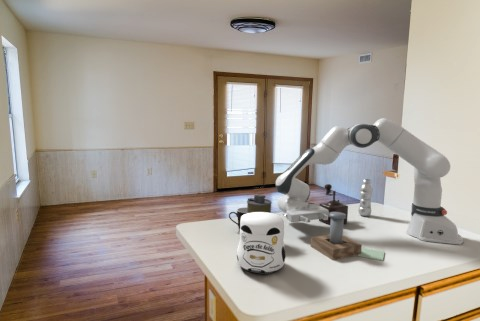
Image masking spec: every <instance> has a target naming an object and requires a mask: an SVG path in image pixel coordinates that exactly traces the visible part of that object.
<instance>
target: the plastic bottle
mask: <svg viewBox="0 0 480 321" xmlns="http://www.w3.org/2000/svg"><path fill="white" fill-rule="evenodd" d="M362 180H363V181H362V185H361V186H360V188H359V196H360V197H359V199H360V201H359V206H358V215H360V216H363V217H369V216H371V215H372V202H371V201H372V196H373V190H374V189H373V186H372V185H371V184H372V183H371V181H372V180H371V179H369V178H365V179H362Z"/></svg>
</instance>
